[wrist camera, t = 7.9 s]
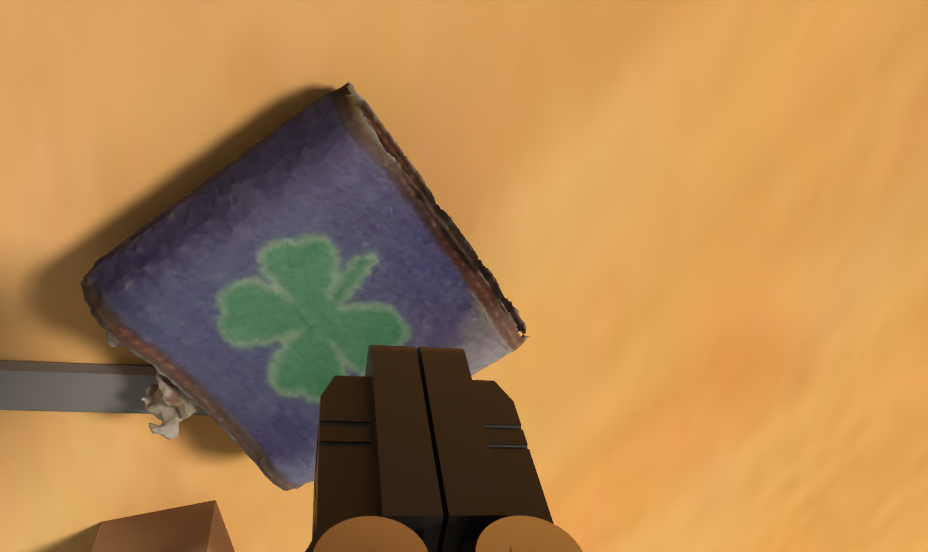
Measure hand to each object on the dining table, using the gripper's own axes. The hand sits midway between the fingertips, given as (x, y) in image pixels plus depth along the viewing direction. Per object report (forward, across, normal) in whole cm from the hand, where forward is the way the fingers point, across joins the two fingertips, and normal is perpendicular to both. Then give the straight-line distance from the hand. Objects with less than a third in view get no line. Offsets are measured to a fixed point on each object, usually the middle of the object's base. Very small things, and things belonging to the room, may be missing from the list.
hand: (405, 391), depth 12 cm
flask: (+9, -2, +1) cm, 10 cm away
